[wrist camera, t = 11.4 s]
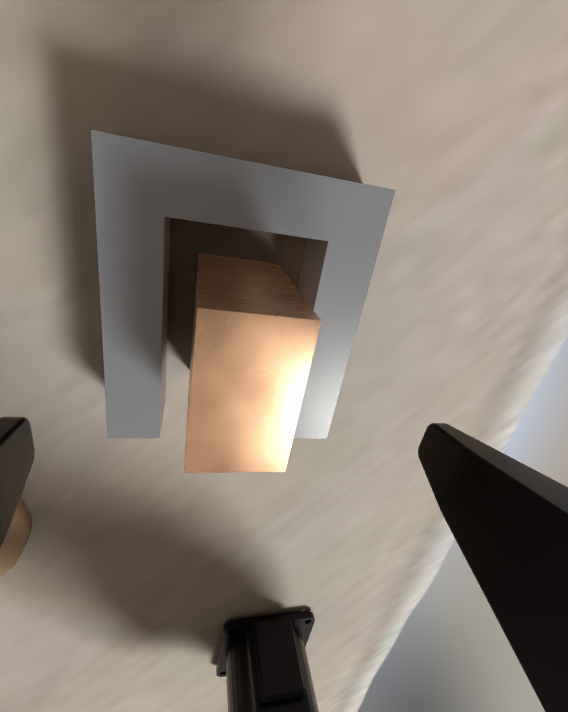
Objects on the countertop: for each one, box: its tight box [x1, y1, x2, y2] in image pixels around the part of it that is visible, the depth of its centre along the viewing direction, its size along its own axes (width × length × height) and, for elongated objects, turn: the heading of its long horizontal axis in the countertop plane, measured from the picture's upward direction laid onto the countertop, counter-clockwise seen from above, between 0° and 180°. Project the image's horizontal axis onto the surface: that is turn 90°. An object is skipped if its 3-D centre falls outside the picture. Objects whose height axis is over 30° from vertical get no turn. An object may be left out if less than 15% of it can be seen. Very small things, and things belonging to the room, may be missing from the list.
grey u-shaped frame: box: [91, 130, 395, 438], centre depth 13 cm, size 10×9×2 cm
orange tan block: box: [184, 253, 321, 473], centre depth 12 cm, size 5×3×6 cm, turn 169°
